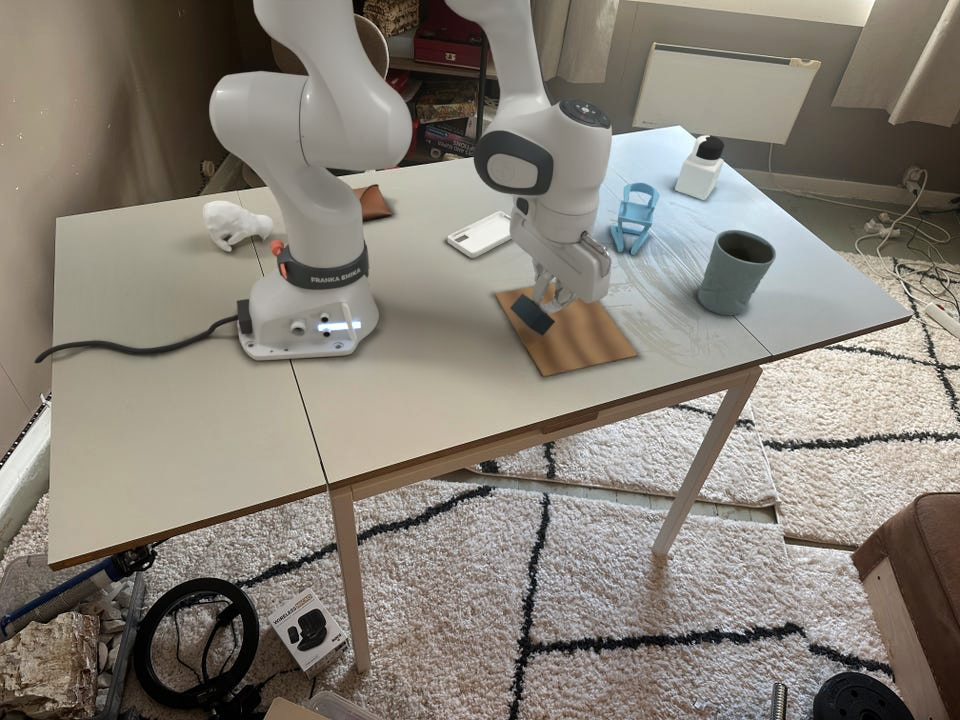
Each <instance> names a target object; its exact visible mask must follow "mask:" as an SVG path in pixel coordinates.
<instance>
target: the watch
mask: <svg viewBox="0 0 960 720" xmlns="http://www.w3.org/2000/svg"><path fill="white" fill-rule="evenodd" d="M554 278H555V279H554ZM553 279H554V280H555V282H554V283H555V290H557V289H560V288H562V287H561V282H560V281H559V280H558V279H557V278H556V277H554V276H553V275H552V274H551V273H550V272H549V271H547V270H545V271H544V272H543V273H542V275H541V276H539V278H538V279H537V281H536V282H535V283H534V286H533V287H534V288H533V291H532V295H531V296H532V298H533V301H532V300H531V299H530V298H528V297H527V296H525V295H524V294H523V293H522V295H521V296H520V297H519V298H518V299H517V300H516V302H515V303H514V304H513V305H512V306H511V307H510V309H511V310H512V311H513V312H514V313H515V314H516V315H517V316H518V317H519V318H520V319H521V320H522V321H523V322H524V323H525V324H526V325H527V326H528V327H530V328H531V329H533V330H534V331H536V332H537V333H539V334H540V335H542V336H543V335H544V334H545V333H546V332H547V330H548V329H549V328H550V327H551V326H552V325H553V324H554V322H555V321H554V320H553V319H552V318H551V317H550V316H549V315H548V314H547V313H555V312H557V311H559V310H560V309H562V308H565V307H567V306H568V305H569V304H571V303H572V302H574V301H576V300H577V299H578V296H577V295H575V294H574V293H573V292H572V291H571V292H570V293H569V297H568V300H567V301H566V302H563V303H559V302H558V301H557V300H556V299H554V300H552V301H551V302H549V303H548V304H544V305H543V304H542V305H541V302H542V301H543V299H544V296H545V293H546V291H547V289H548V287H549V286H550V285H549V284H551V283H552V280H553ZM554 296H555V293H554ZM554 296H553V298H554Z"/></svg>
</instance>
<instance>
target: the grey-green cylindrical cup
mask: <svg viewBox="0 0 960 720" xmlns="http://www.w3.org/2000/svg"><path fill="white" fill-rule="evenodd" d="M776 258H777V251H776V249H775V248H774V246H773V244H772V243H770V242H769V241H768V240H767V239H766V238H764V237H762V236H760V235H757V234H755V233H752V232H749V231H745V230H740V229H728V230H724V231H721V232H720V233H718V234H717V235H716V237H715V239H714V242H713V246H712V249H711V252H710V255H709V259H708V260H709V261H708V263H707V265H706V268H705V270H704V271H705V272H704V275H703V279H702V281H701V283H700V287H699V290H698V293H697V298H698V301H699V302H700V304H701V305H702V306H703V307H704V308H706V310H708V311H710V312H712V313H715V314H718V315H722V316H736V315H739V314H740V313H742V312H743V311H744V310H745V309H746V307H747V305H748V304H749V302H750V300H751V298H752V295H753V294H754V293H755V292H756V290H757V288H758V287H759V285H760V284H761V281H762V280H763V279H764V277H765V276H766V274H767V273H768V270H769V269H770V268H771V266H772V265H773V263H774V261H775V260H776Z"/></svg>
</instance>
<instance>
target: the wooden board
mask: <svg viewBox="0 0 960 720" xmlns="http://www.w3.org/2000/svg"><path fill="white" fill-rule="evenodd" d="M555 283H556V282H550V283H549V285H550V286H549V287H548V289H547V291H546V293H545V296H544V299H543V301H542V302H541V305H542V304H543V305H544V304H548V303H549V302H551V301H552V300H554V299H555V298H553V296H554V293H555ZM533 288H534V286H529V287H525V288H519V289H513V290H507V291H506V290H505V291H501V292H496V293H494V295H495V297H496V300H497V301H498V303H499V304H500V306H501V308H502V309H503V311H504V313H505V314H506V316H507V319H509V321H510V322H511V324H512V326H513V328H514V329H515V331H516V333H517V335H518V336H519V338H520V340H521V342H522V344H523V345H524V346H525V349H526V350H527V351H528V353H529V355H530V357H531V359H532V360H533V362H534V364H535V365H536V367H537V369H538V371H539V372H540V374H541V376H542V377H543V378H547V377H551V376H555V375H559V374H564V373H568V372H572V371H578V370H581V369H586V368H592V367H596V366H600V365H605V364H609V363H613V362H618V361H622V360H626V359H631V358H635V357H638V352H636V350H635V349H634V347H633V346H632V344H631V343H630V342H629V341H628V340H627V338H626V337H625V335H624V334H623V332H622V331H621V330H620V328H619V327H618V326H617V324H615V322H614V321H613V320H612V318H611V316H610V315H609V314H608V313H607V312H606V310H605V308H604V307H603V306H602V305H601V303H600V302H599V300H598V301H595V302H592V303H588V304H587V303H585V302H584V301H582V300H581V299H580V298H579V297H578V299H577V300H576V301H574V302H572V303H571V304H569V305H568V306H567V307H565V308H562V309H560V310H559V311H557V312H555V313H547V314H548V315H549V316H550V317H551V318H552V319H553V320H554V321H555V322H554V324H553V325H552V326H551V327H550V328H549V329H548V330H547V332H546V333H545V334H544V335H543V336H542V335H540V334H539V333H537V332H536V331H534V330H533V329H531V328H530V327H528V326H527V325H526V324H525V323H524V322H523V321H522V320H521V319H520V318H519V317H518V316H517V315H516V314H515V313H514V312H513V311H512V310H511V309H510V307H511V306H512V305H513V304H514V303H515V302H516V300H517V299H518V298H519V297H520V296H521V295H522V293H523V294H524V295H525V296H527V297H528V298H530V299H531V300H532V301H533V298H532V296H531V295H532V291H533Z"/></svg>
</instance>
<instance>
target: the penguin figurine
mask: <svg viewBox="0 0 960 720" xmlns="http://www.w3.org/2000/svg"><path fill="white" fill-rule="evenodd" d="M202 218H203V221H204V225H205V226H206V229H207V231H208V236H209V238H211V239H212V240H213V242H214V243H215V244H216V246H218V247H219V248H220V249H221V250H224V251H225V252H228V253H230V252H232V246H231V245H236V244H237V243H239V242H241V241H242V240H244V239H245V238H249V237H251V236H255V235H258V236H259V237H260V238H262V242H264V241H265V240H266V239H267V238H268V237H269V236H270V235H271V233H272V232H273V231H274V229H275V223H274V221H273V218H271V217H270V216H268V215H267V214H266V215H265V214H255V213H254V212H250V211H249V210H248V209H247V208H244V207H242V206H241V205H239V204H236V203H233V202H231V201H229V200H213V201H210V202H207V203H205V204H204V205H203V207H202ZM228 235H230V236H231V237H230V238H229V239H228V240H224V239H226V238H227V237H228Z"/></svg>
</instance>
